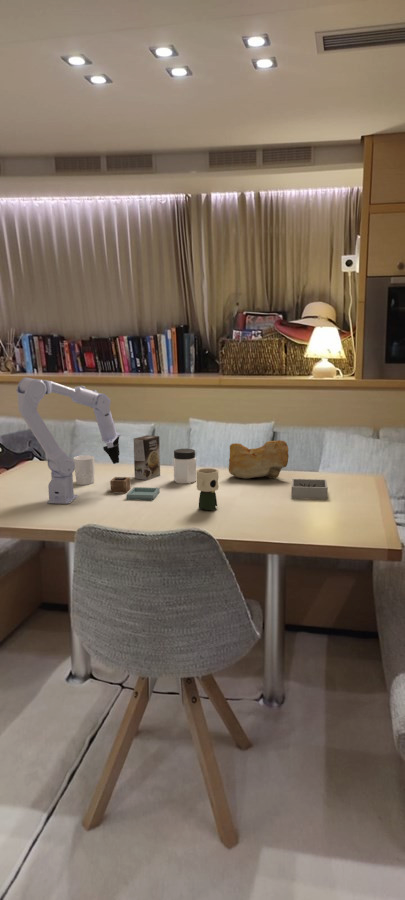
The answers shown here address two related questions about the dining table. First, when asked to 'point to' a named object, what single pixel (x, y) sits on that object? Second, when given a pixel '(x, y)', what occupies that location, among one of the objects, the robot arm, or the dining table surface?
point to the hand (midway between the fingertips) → (116, 459)
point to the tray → (143, 493)
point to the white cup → (84, 469)
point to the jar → (184, 466)
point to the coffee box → (146, 457)
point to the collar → (120, 485)
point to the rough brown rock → (258, 460)
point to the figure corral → (309, 488)
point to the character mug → (207, 488)
